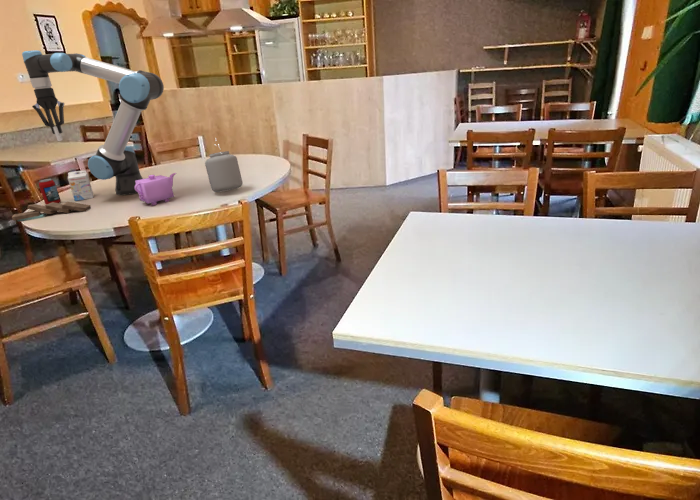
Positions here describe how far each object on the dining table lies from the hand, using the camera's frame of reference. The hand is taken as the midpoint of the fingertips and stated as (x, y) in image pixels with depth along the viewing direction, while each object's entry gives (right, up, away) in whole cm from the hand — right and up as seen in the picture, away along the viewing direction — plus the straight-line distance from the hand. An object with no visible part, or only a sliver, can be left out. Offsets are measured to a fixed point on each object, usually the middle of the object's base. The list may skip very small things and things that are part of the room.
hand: (60, 140), depth 213 cm
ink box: (+2, -25, +16) cm, 30 cm away
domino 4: (+10, -34, -8) cm, 36 cm away
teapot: (+49, -29, -3) cm, 57 cm away
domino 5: (+17, -33, -7) cm, 38 cm away
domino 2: (0, -36, -11) cm, 38 cm away
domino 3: (+3, -34, -10) cm, 36 cm away
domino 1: (-2, -35, -11) cm, 37 cm away
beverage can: (-9, -29, +10) cm, 32 cm away
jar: (+78, -24, +3) cm, 82 cm away
